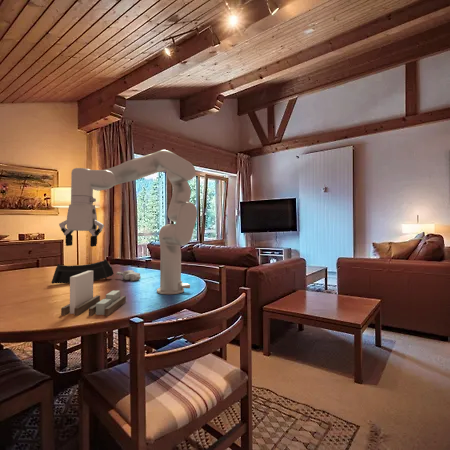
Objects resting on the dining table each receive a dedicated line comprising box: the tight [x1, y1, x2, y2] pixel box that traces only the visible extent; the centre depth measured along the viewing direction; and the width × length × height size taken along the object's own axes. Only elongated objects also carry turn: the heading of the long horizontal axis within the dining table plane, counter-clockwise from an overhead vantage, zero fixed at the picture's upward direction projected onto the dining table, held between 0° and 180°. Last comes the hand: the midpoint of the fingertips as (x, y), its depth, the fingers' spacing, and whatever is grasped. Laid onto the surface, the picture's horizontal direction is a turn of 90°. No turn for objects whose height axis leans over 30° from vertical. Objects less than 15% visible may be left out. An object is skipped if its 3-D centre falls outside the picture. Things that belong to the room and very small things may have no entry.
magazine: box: [50, 258, 114, 285], centre depth 160 cm, size 17×3×30 cm
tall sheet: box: [69, 271, 94, 315], centre depth 112 cm, size 2×14×13 cm, turn 0°
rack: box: [60, 295, 127, 317], centre depth 112 cm, size 16×18×2 cm
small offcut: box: [95, 298, 111, 316], centre depth 108 cm, size 3×6×4 cm, turn 0°
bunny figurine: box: [115, 269, 141, 282], centre depth 168 cm, size 10×5×15 cm
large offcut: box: [105, 290, 121, 304], centre depth 117 cm, size 3×7×5 cm, turn 0°
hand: (81, 246), depth 114 cm, fingers open, 9 cm apart
